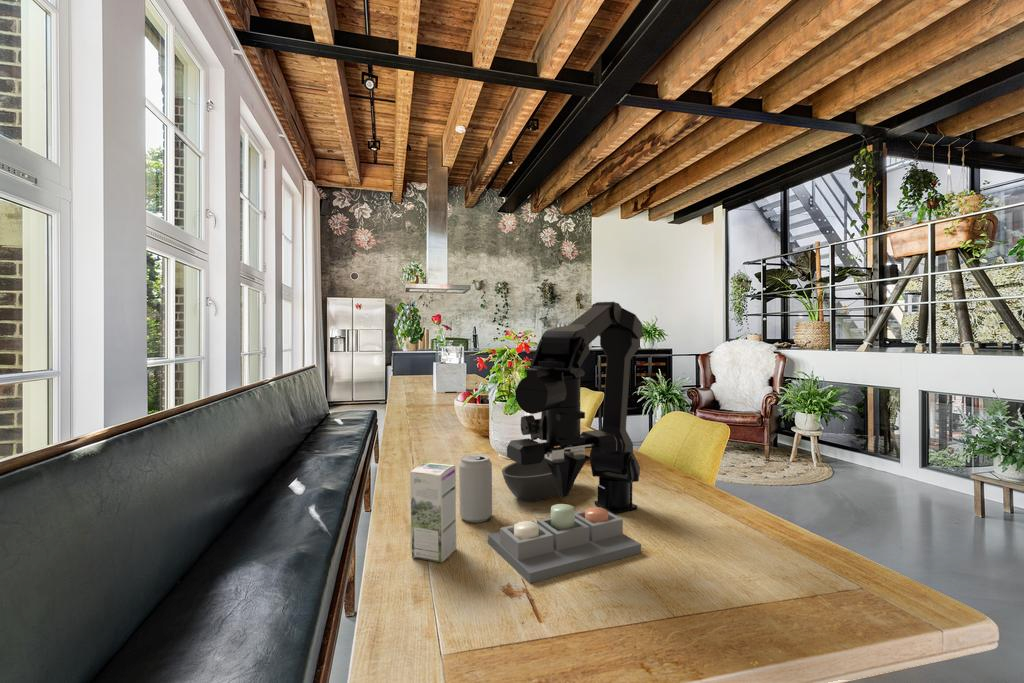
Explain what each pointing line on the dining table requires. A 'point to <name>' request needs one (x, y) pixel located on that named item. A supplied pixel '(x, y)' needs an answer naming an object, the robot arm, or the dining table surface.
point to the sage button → (562, 517)
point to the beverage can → (475, 487)
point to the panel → (564, 547)
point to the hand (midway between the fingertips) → (563, 496)
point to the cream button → (526, 530)
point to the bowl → (530, 481)
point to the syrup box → (433, 511)
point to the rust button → (596, 514)
